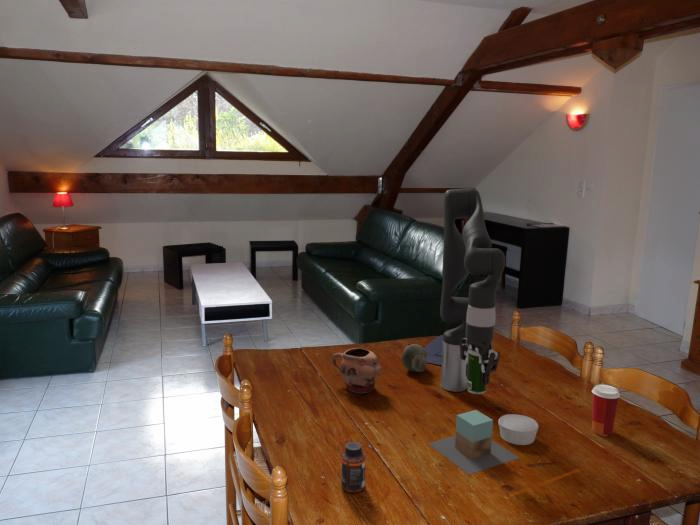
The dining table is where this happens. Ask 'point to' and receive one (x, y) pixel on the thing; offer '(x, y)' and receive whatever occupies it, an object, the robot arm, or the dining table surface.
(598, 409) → the paper cup
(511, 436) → the ramekin
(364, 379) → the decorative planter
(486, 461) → the mat
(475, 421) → the tower top
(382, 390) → the dining table surface
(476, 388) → the beer can
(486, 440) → the tower base
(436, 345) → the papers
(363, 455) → the supplement bottle
